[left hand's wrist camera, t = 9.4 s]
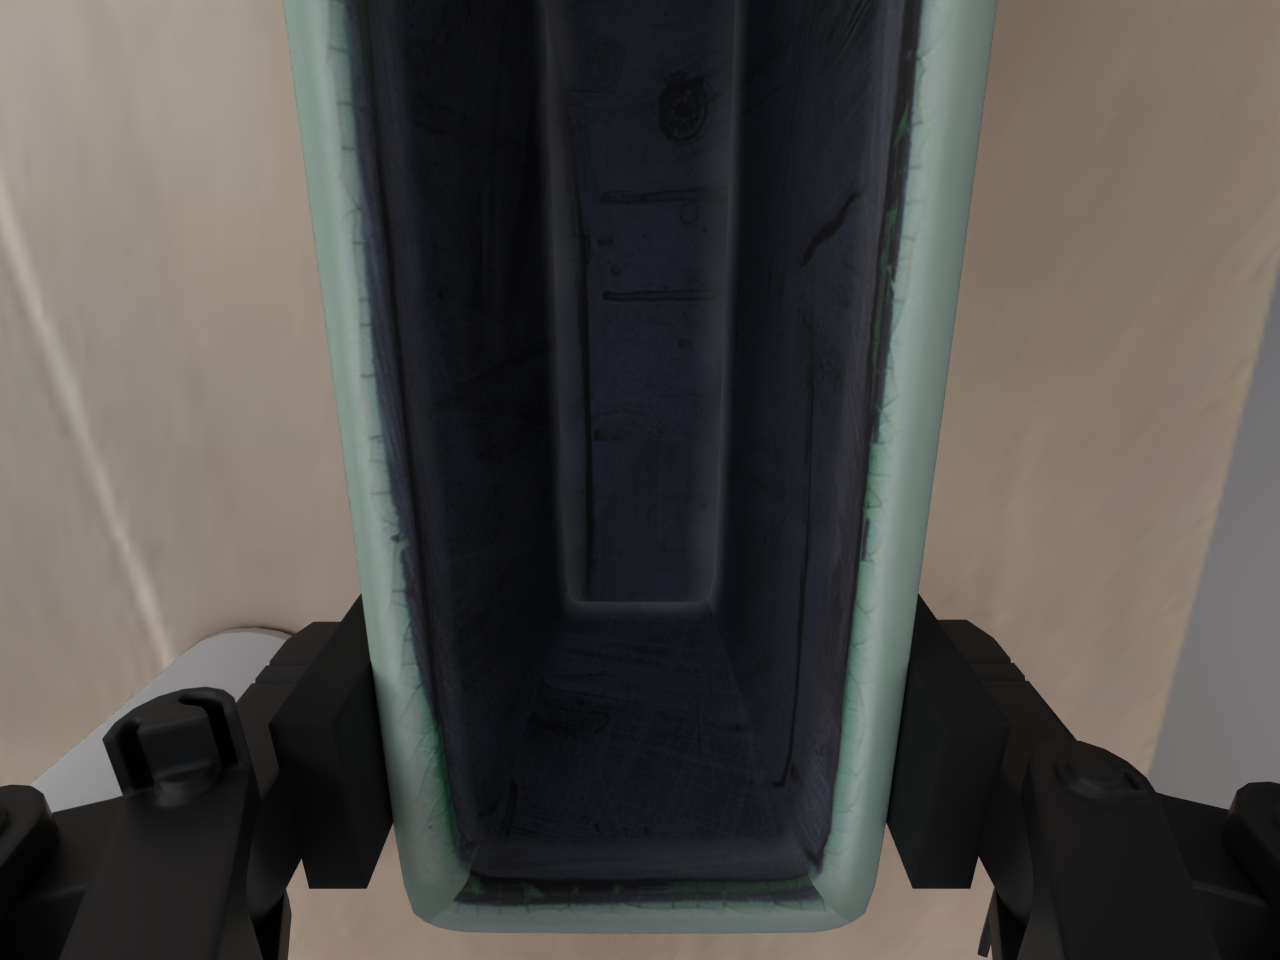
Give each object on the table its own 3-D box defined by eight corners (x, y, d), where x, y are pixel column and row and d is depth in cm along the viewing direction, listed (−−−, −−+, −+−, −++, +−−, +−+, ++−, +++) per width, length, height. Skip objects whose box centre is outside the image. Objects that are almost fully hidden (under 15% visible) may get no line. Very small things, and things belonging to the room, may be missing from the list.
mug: (245, 576, 28) (37, 765, 19) (411, 707, 31) (301, 935, 21) (103, 719, 31) (-140, 947, 22) (264, 829, 34) (109, 1078, 24)
